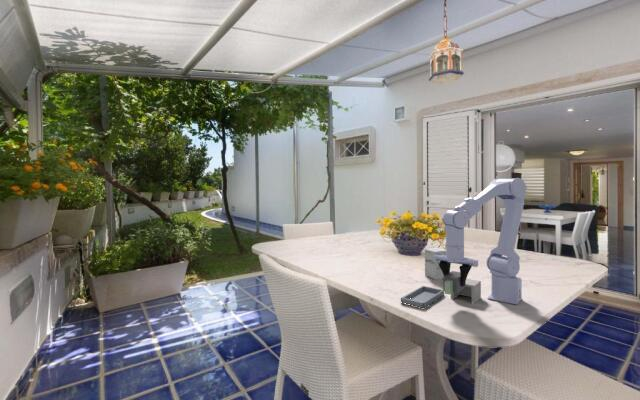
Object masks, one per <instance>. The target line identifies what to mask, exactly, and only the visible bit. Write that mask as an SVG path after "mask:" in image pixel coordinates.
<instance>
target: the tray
mask: <svg viewBox="0 0 640 400" xmlns="http://www.w3.org/2000/svg"><path fill="white" fill-rule="evenodd" d="M444 296H445V291H443V289H439V288H435V287H429V286H425V285H421V286H420V287H418V288H416V289H414V290H412V291H411V292H409V293H407V294H405V295H403V296H402V297H400V303H401V302H402V303H406V304H410V305H413V306H417V307H420V308H419V309H421V308H425V307H426V308H427V306H428V305H429V306H431V305H432V304H434V303H435V302H436V300H437V301H438V300H440V299H441V298H443V297H444ZM410 298H411V299H410ZM439 298H440V299H439ZM434 301H435V302H434ZM433 302H434V303H433ZM431 303H432V304H431ZM430 304H431V305H430ZM413 306H412V307H413ZM429 306H428V307H429ZM417 307H416V308H417ZM426 308H425V309H426Z"/></svg>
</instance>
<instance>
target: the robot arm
mask: <svg viewBox="0 0 640 400" xmlns="http://www.w3.org/2000/svg"><path fill="white" fill-rule="evenodd" d="M527 188H528V185H527V184H526V183H525V181H524V180H523V179H522V178H520V177H515V178H500V177H499V178H495V179H493V180H492V181H490V182H489V184H488V186H487V187H486V188H485V189H483V190H482V191H481V192H480V193H478V194H477V196H475V197H466V198H464V201H463V202H462V203H460V204H458V205H456V206H455V207H454V208H453V210H452V209H450V210H447V211H446V212H445V213H444V214H443V216H442V218H441V221H442V224H443V225H444V230H445V242H446V243H445V250H446V255H434V261H440V263H439V267H440V268H441V270H442V272H443V275H444V276H445V275H446V274H448V273H450V272H451V264H454V265H455V264H456V265H459V272H460V274H461V286H464V285H465V282H466V279H468V278H467V277H468V275H469V273H470V271H471V269H472V267H474V268H477V267H479V260H478V259H473V258H467V257H465V227H467V226H468V223H469V220H471V219H472V218H473V217H474V216H476V215H477V214H478V213H479V212H480V211H481V210H482V206H483V205H485V204H486V203H488V202H489V201H491V200H493V199H494V198H496V197H497V198H498V199H500V201H502V202H503V203H504V205H505V209H504V213H503V219H502V221H501V222H502V223H501V227H500V228H501V229H500V233H499V237H498V241H497V246H496V247H494V248H493V249H491V251H490V254H489V256H488V257H487V258H486V259H487V260H486V268H487V269H489V273H491V293H490V295H488V297H487V299H488V300H492V301H497V302H502V303H508V304H511V305H518V304H519V303H520V302H521V301H522V299H523V297H522V293H523V292H522V287H523V285H522V281H523V280H522V278H521V277H520V276H517V275H518V274H519V272H520V268H521V267H520V265H521V264H520V258H521V257H520V256H519V254H518V253H517V252H516V251H515V248H516V243H517V238H518V233H519V229H520V224H521V219H522V215H523V210H524V207H525V206H524V205H525V197H526V192H527Z"/></svg>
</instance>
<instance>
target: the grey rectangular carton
mask: <svg viewBox="0 0 640 400" xmlns="http://www.w3.org/2000/svg"><path fill="white" fill-rule="evenodd" d="M442 281H443V289H442V290H443V291H444V295H445V294H446V295H449V296H451V294H452V293H459V292H460V291H461V290H462V289H464V288H465V287H466V282H465V285H464V286H461V274H460V271H454V270H450V273H448V274H446V275H445V276H443V279H442Z"/></svg>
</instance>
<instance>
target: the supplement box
mask: <svg viewBox="0 0 640 400" xmlns="http://www.w3.org/2000/svg"><path fill="white" fill-rule="evenodd" d="M434 255H446V249H443V248H439V247H431V248H425V249H424V276H425V275H426V276H425V277H428V276H429V277H428V278H430V277H431V279H433V278H434V280H435V279H437V280H443V279H442V278H443V276H444V275H443V272H442V270H441V268H440V267H439V263H440V261H434Z"/></svg>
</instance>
